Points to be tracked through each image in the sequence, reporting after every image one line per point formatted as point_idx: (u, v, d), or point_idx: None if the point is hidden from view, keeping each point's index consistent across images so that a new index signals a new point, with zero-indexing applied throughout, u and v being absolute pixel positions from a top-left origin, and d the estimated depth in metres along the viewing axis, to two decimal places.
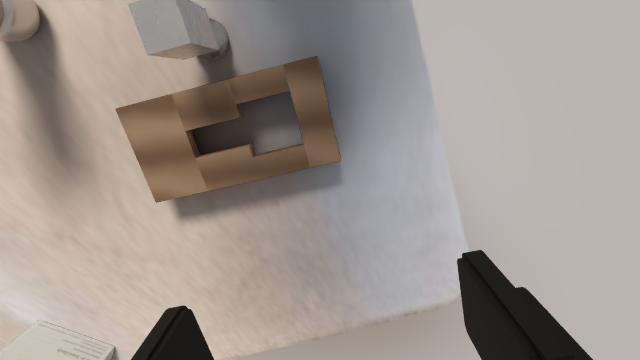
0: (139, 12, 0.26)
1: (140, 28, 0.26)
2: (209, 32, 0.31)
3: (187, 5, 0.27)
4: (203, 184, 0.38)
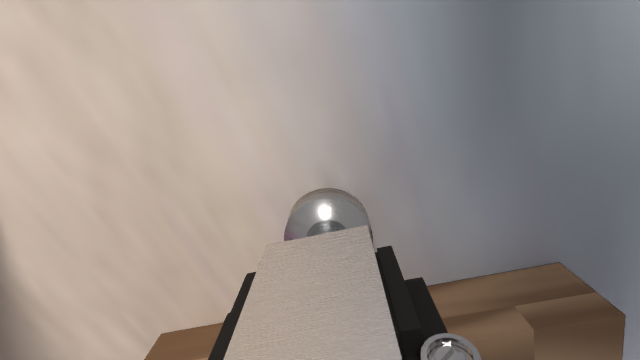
0: None
1: None
2: None
3: None
4: None
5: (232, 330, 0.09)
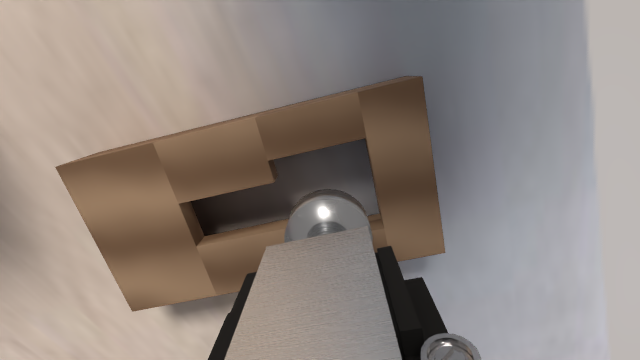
0: None
1: None
2: None
3: None
4: (209, 286, 0.23)
5: (232, 330, 0.09)
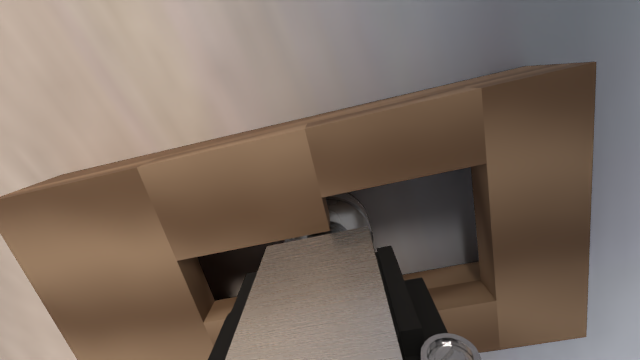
0: None
1: None
2: None
3: None
4: None
5: (232, 330, 0.09)
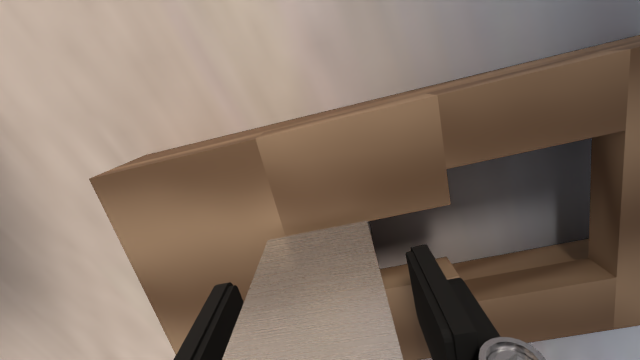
0: None
1: None
2: None
3: None
4: None
5: (189, 347, 0.08)
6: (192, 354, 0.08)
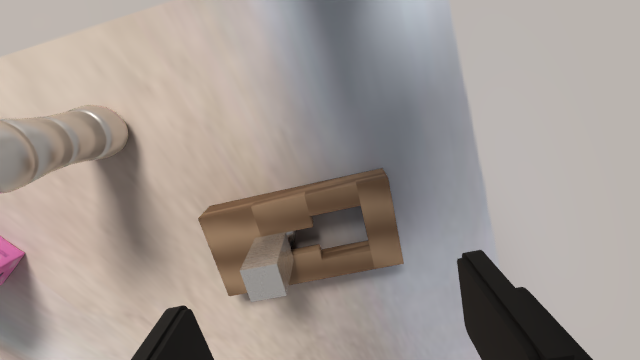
0: (248, 276, 0.32)
1: (247, 285, 0.33)
2: (289, 253, 0.38)
3: (281, 257, 0.34)
4: None
5: None
6: None
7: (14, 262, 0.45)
